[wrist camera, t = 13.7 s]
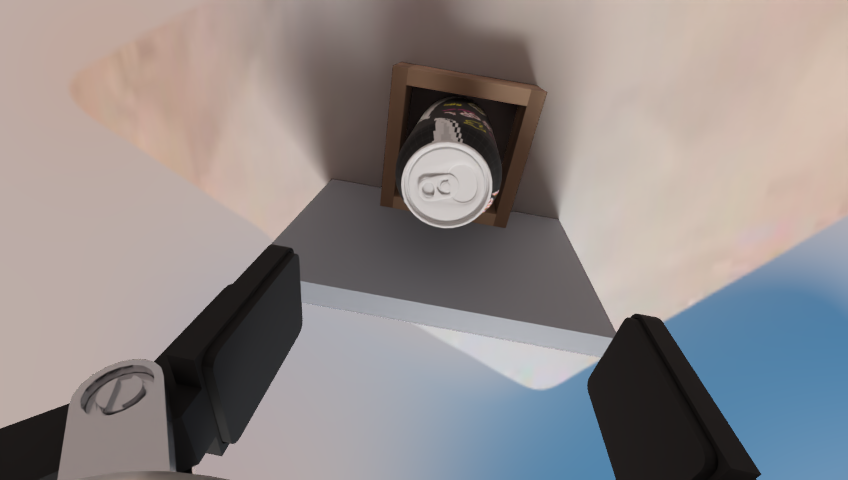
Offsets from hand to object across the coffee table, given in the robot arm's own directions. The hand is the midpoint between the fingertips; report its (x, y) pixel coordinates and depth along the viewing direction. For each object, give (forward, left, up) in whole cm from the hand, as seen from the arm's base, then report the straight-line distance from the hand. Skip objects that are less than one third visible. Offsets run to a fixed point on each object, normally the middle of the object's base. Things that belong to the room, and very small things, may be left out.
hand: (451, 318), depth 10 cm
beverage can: (+1, 0, -21) cm, 21 cm away
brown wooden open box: (0, 0, -21) cm, 21 cm away
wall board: (0, +6, -21) cm, 21 cm away
